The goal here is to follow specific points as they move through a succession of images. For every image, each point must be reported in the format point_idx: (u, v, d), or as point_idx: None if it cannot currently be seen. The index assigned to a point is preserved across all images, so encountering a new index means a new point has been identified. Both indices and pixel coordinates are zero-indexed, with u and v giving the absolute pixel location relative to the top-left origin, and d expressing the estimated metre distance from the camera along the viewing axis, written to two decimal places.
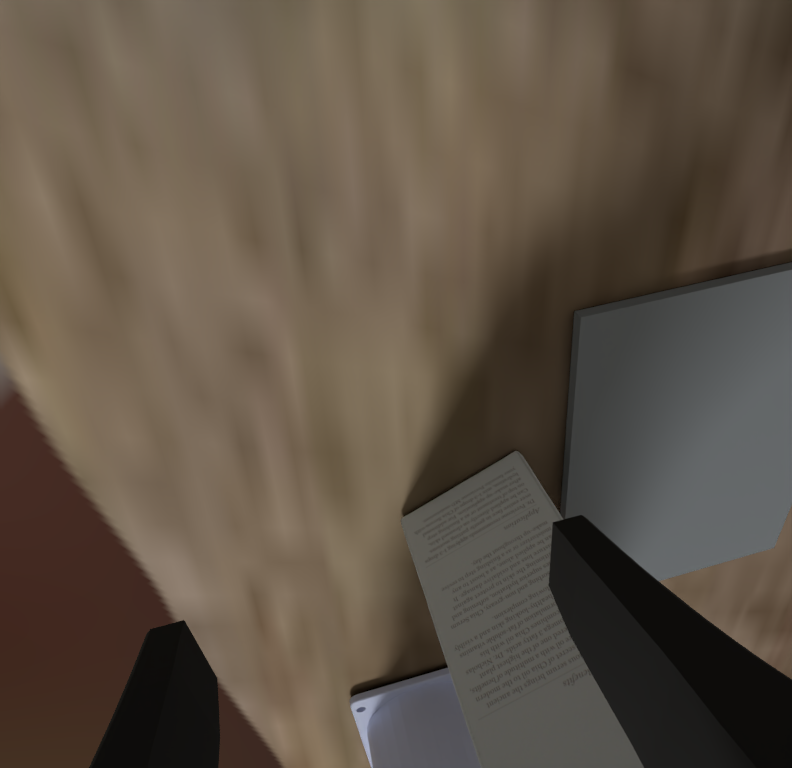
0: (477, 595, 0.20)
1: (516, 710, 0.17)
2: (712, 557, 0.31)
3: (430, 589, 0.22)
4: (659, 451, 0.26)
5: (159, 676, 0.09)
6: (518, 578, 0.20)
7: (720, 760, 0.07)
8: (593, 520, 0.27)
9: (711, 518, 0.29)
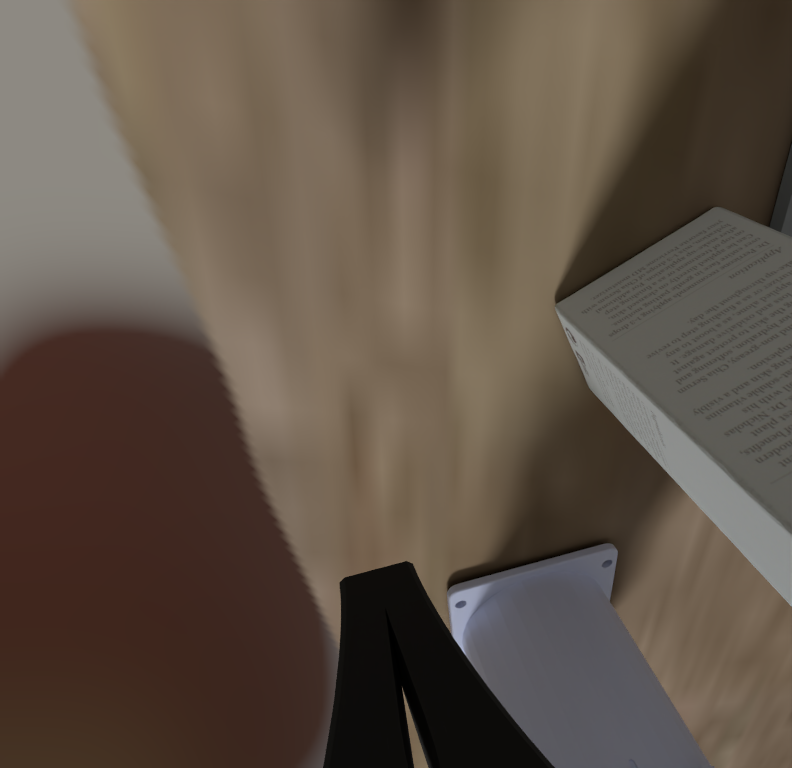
0: (710, 351, 0.14)
1: None
2: None
3: (627, 360, 0.15)
4: None
5: (374, 617, 0.10)
6: (777, 321, 0.14)
7: None
8: None
9: None
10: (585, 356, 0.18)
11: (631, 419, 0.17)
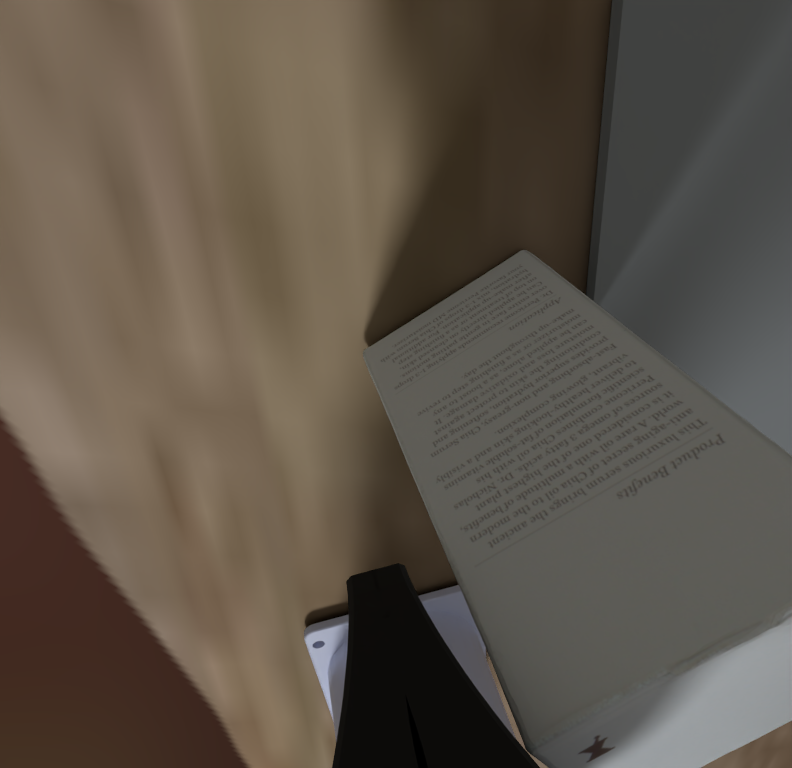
0: (470, 411, 0.13)
1: (538, 543, 0.10)
2: None
3: (401, 417, 0.15)
4: (717, 269, 0.19)
5: (381, 616, 0.10)
6: (533, 380, 0.13)
7: None
8: None
9: (774, 390, 0.23)
10: None
11: None
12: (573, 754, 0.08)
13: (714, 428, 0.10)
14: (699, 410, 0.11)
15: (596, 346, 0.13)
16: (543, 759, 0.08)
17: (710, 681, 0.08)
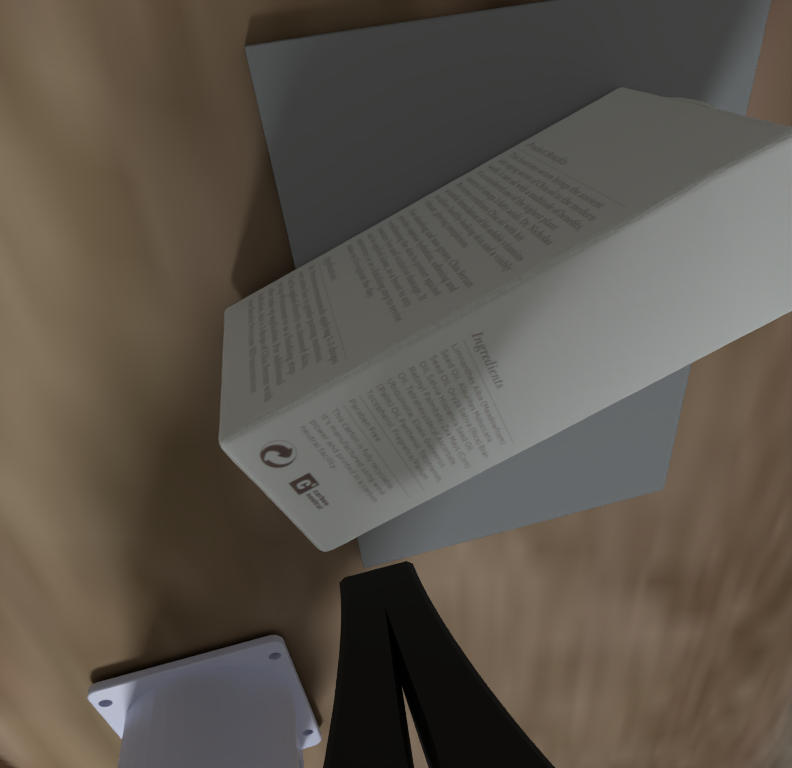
0: (424, 275, 0.12)
1: (603, 182, 0.11)
2: (576, 499, 0.23)
3: (391, 337, 0.11)
4: None
5: (374, 617, 0.10)
6: (415, 242, 0.13)
7: None
8: None
9: (562, 440, 0.21)
10: (318, 453, 0.11)
11: (432, 446, 0.12)
12: None
13: (520, 148, 0.14)
14: (501, 157, 0.15)
15: (405, 218, 0.14)
16: None
17: None
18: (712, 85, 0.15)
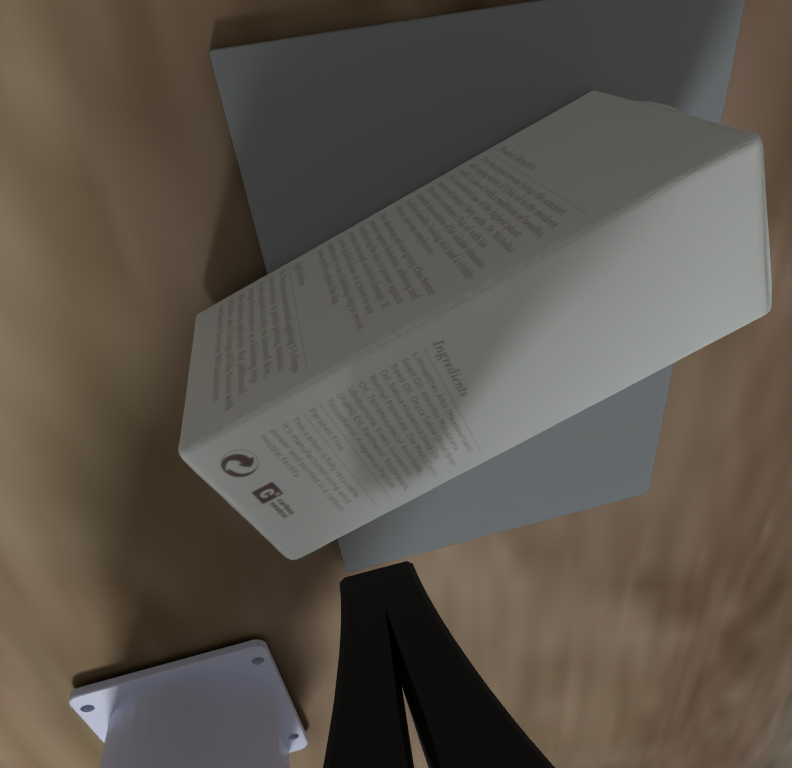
0: (389, 282, 0.12)
1: (568, 188, 0.11)
2: (560, 503, 0.23)
3: (352, 345, 0.11)
4: None
5: (374, 618, 0.10)
6: (383, 248, 0.13)
7: None
8: None
9: (544, 444, 0.21)
10: (280, 462, 0.11)
11: (397, 454, 0.12)
12: None
13: (491, 152, 0.14)
14: (473, 161, 0.14)
15: (375, 223, 0.14)
16: (762, 148, 0.10)
17: None
18: (687, 88, 0.15)
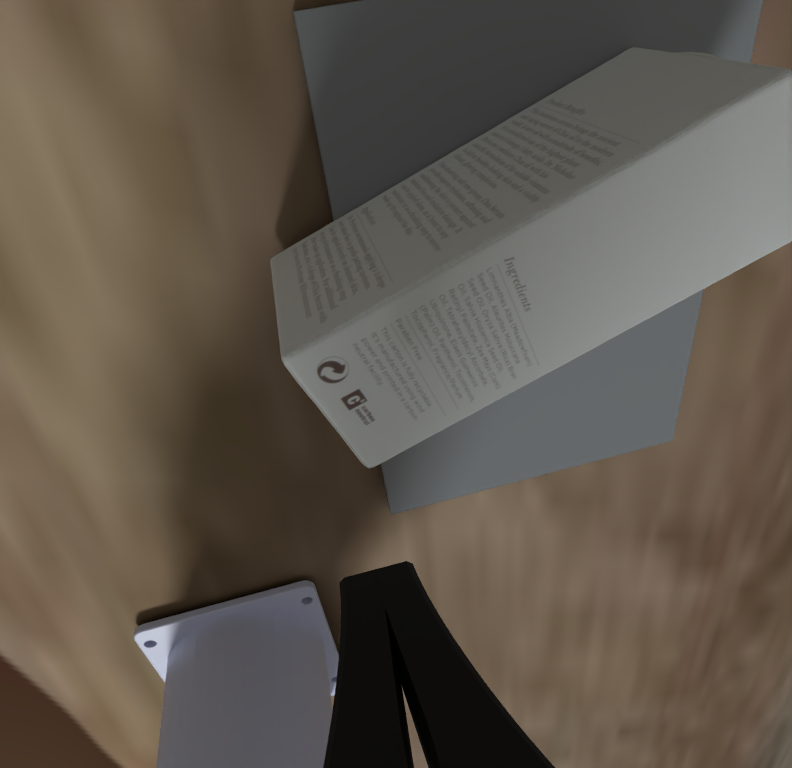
0: (458, 213, 0.13)
1: (619, 125, 0.13)
2: (590, 449, 0.25)
3: (433, 262, 0.12)
4: None
5: (373, 617, 0.10)
6: (447, 188, 0.15)
7: None
8: None
9: (577, 389, 0.23)
10: (367, 370, 0.13)
11: (467, 366, 0.13)
12: None
13: (540, 105, 0.16)
14: (523, 113, 0.16)
15: (435, 170, 0.16)
16: None
17: None
18: (717, 45, 0.17)
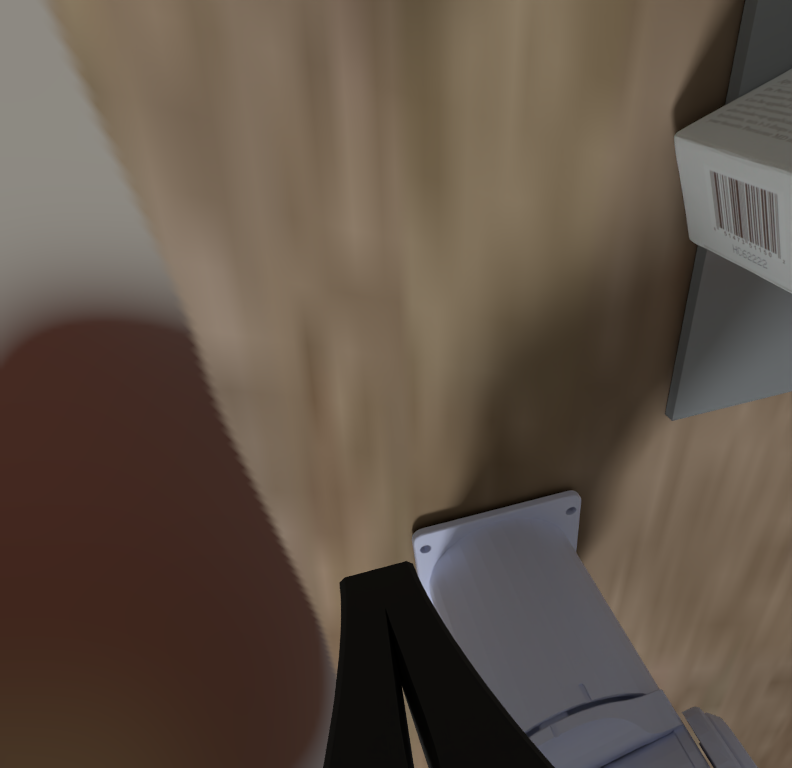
0: None
1: None
2: None
3: None
4: None
5: (374, 617, 0.10)
6: None
7: None
8: (736, 272, 0.21)
9: None
10: None
11: None
12: None
13: None
14: None
15: None
16: None
17: None
18: None
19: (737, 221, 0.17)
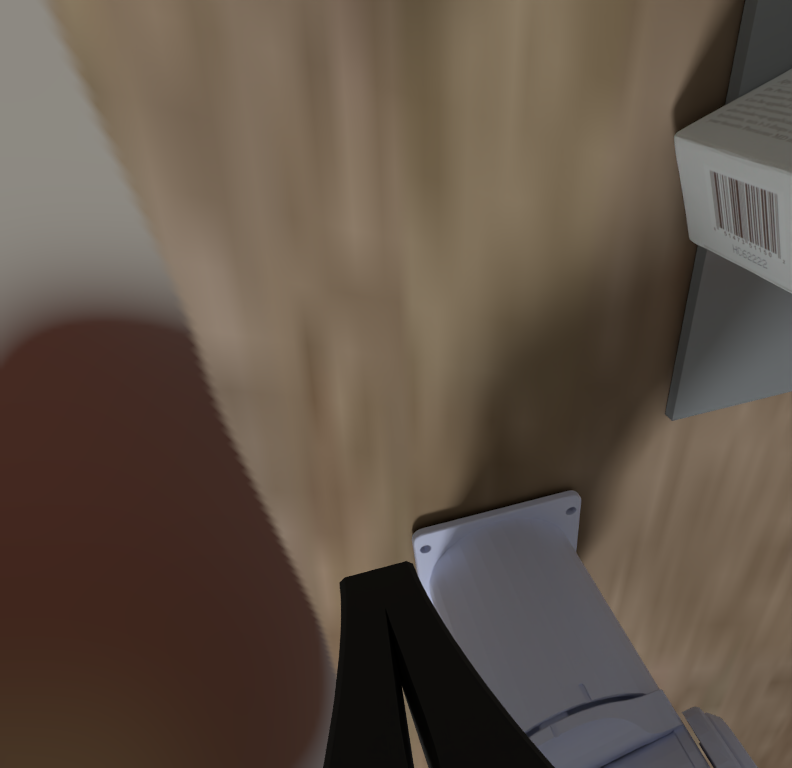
0: None
1: None
2: None
3: None
4: None
5: (374, 617, 0.10)
6: None
7: None
8: (736, 272, 0.21)
9: None
10: None
11: None
12: None
13: None
14: None
15: None
16: None
17: None
18: None
19: (737, 221, 0.17)
